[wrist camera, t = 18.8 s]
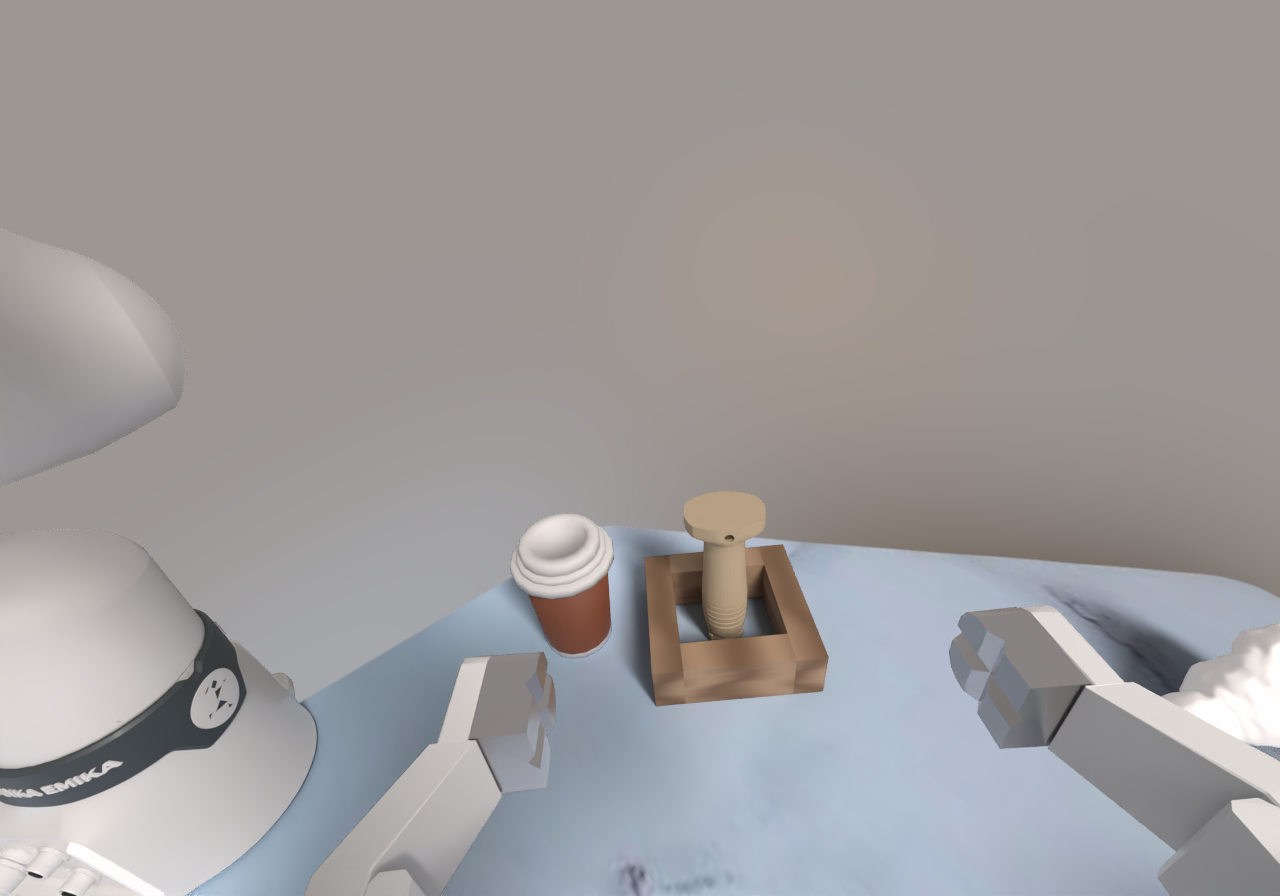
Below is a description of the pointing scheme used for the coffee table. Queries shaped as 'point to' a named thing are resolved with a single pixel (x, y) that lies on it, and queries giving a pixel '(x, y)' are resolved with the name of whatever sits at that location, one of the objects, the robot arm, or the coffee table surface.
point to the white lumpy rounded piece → (1238, 688)
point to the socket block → (732, 663)
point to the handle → (724, 555)
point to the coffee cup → (567, 581)
